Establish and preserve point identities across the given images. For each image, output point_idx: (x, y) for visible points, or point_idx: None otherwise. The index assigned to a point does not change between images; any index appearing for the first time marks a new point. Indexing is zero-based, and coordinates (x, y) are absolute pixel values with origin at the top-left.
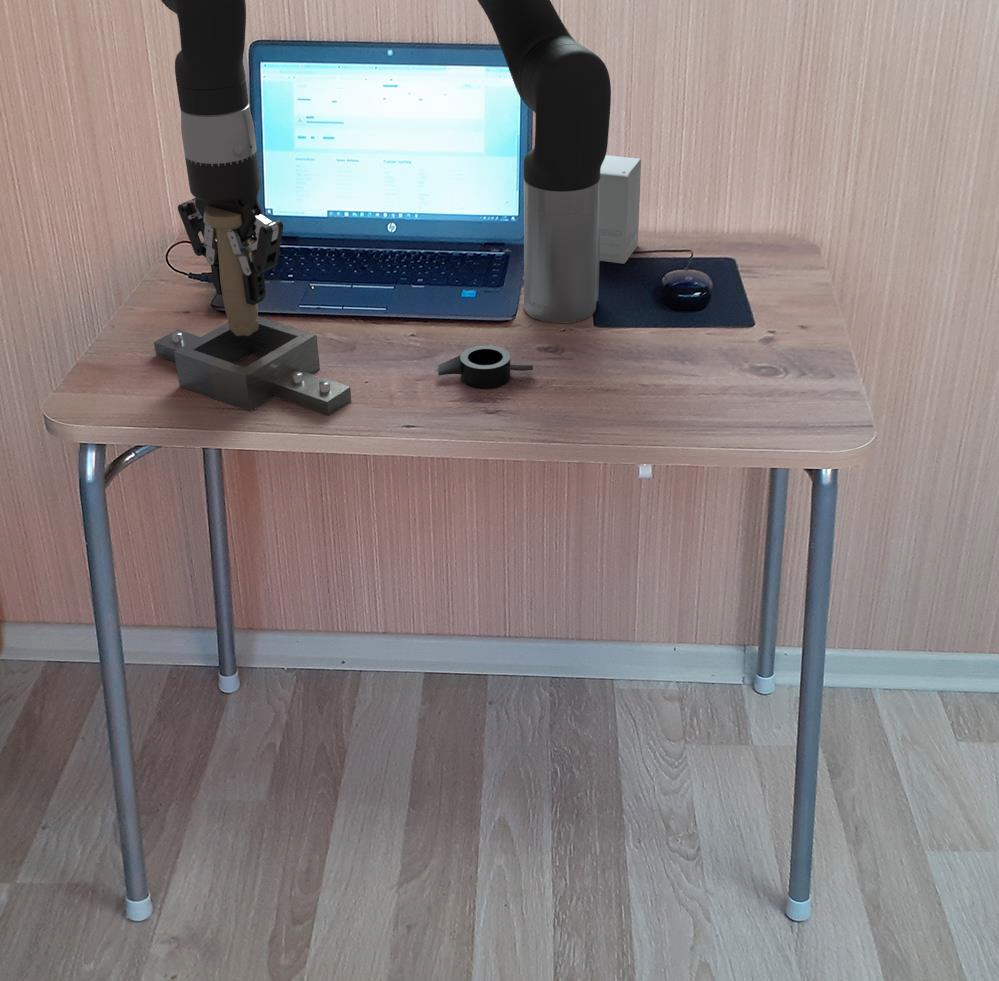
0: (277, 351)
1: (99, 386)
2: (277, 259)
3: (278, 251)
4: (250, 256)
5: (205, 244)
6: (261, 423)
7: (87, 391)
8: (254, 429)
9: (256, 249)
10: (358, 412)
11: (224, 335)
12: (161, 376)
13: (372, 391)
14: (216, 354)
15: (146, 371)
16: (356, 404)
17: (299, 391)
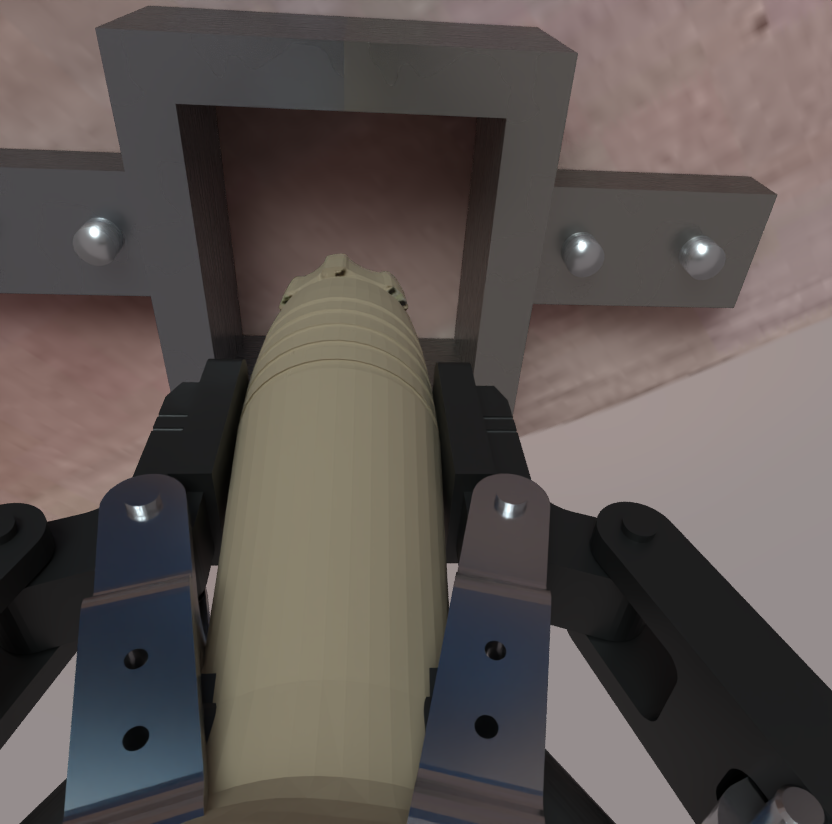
0: (504, 274)
1: (30, 464)
2: (692, 547)
3: (748, 611)
4: (430, 541)
5: (42, 630)
6: (549, 395)
7: (35, 491)
8: (549, 422)
9: (653, 760)
10: (795, 223)
11: (201, 251)
12: (107, 353)
13: (804, 77)
14: (220, 279)
15: (40, 353)
16: (773, 185)
17: (621, 302)
